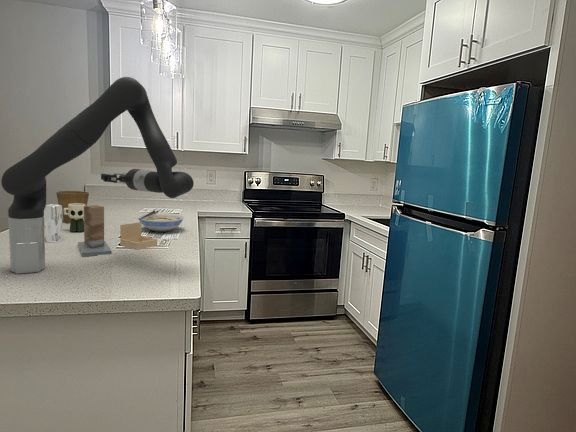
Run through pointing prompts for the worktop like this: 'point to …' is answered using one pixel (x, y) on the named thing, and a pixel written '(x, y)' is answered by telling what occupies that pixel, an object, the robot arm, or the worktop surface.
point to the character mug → (76, 216)
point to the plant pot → (71, 200)
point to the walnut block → (93, 226)
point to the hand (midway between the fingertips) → (112, 176)
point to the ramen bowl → (160, 221)
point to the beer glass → (53, 222)
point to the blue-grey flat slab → (93, 250)
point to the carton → (135, 237)
